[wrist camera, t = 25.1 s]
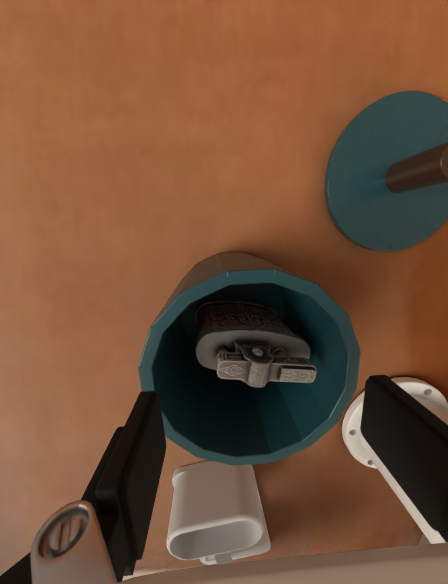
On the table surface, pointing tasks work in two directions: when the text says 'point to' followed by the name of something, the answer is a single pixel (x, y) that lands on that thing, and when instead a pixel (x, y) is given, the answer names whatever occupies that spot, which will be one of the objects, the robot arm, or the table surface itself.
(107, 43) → the table surface
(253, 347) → the lighter
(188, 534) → the phone holder
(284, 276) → the tin
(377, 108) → the tin lid
